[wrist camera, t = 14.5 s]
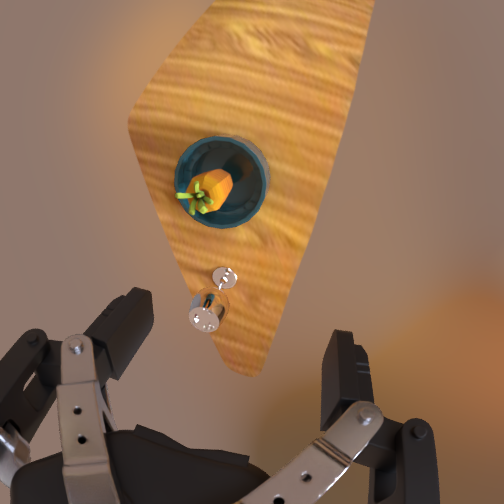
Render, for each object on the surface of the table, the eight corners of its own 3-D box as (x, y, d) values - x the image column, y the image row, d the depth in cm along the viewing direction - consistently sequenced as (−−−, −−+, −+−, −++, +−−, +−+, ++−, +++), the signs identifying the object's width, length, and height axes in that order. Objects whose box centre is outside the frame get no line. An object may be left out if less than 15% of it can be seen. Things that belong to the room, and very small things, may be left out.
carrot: (204, 173, 44) (160, 201, 31) (228, 154, 42) (192, 173, 29) (224, 198, 45) (189, 236, 32) (249, 180, 43) (222, 211, 30)
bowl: (190, 130, 42) (176, 133, 37) (275, 140, 40) (272, 142, 36) (185, 210, 48) (173, 220, 43) (264, 223, 46) (259, 235, 42)
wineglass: (244, 269, 51) (227, 312, 40) (236, 295, 54) (218, 339, 43) (212, 259, 51) (188, 298, 40) (206, 285, 54) (183, 326, 43)
